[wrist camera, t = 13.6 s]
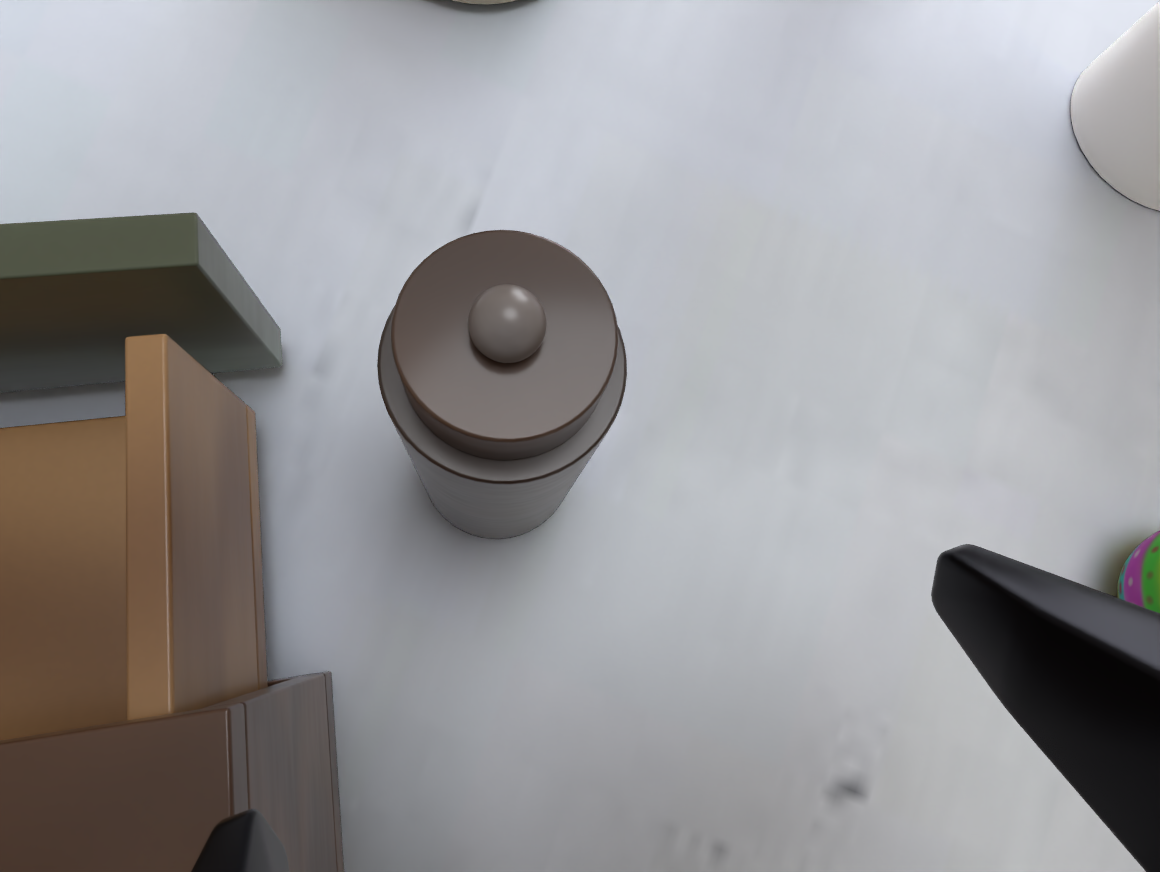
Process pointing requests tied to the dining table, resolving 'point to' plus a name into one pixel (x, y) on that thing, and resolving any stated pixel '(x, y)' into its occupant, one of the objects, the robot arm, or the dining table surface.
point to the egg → (1142, 575)
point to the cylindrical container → (1124, 112)
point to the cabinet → (176, 785)
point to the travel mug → (484, 1)
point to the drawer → (129, 476)
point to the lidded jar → (501, 377)
